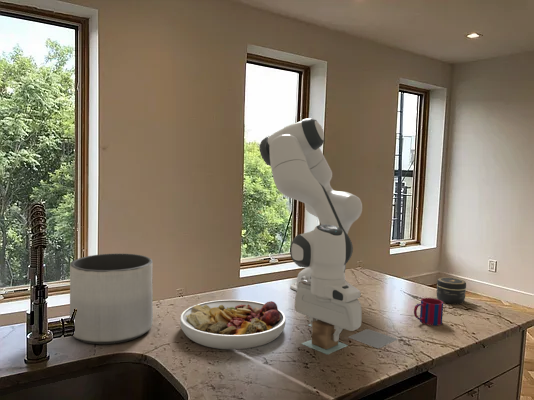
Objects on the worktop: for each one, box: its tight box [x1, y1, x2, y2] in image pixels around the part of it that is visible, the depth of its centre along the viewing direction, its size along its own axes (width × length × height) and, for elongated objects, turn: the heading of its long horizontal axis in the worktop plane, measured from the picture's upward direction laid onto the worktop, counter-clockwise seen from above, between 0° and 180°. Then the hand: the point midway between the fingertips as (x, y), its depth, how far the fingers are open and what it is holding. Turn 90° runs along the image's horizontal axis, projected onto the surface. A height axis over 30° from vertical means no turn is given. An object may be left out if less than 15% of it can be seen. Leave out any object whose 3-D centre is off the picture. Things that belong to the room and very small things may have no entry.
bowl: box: [179, 299, 286, 350], centre depth 130 cm, size 30×30×8 cm
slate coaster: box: [347, 328, 398, 350], centre depth 127 cm, size 10×10×1 cm
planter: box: [69, 253, 154, 345], centre depth 127 cm, size 22×22×20 cm
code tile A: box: [300, 338, 349, 356], centre depth 121 cm, size 9×9×1 cm
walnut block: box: [311, 320, 339, 349], centre depth 121 cm, size 5×5×6 cm
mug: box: [413, 297, 444, 327], centre depth 143 cm, size 7×10×7 cm
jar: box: [436, 276, 467, 305], centre depth 166 cm, size 10×10×8 cm
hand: (325, 336), depth 121 cm, fingers closed on walnut block, 5 cm apart
